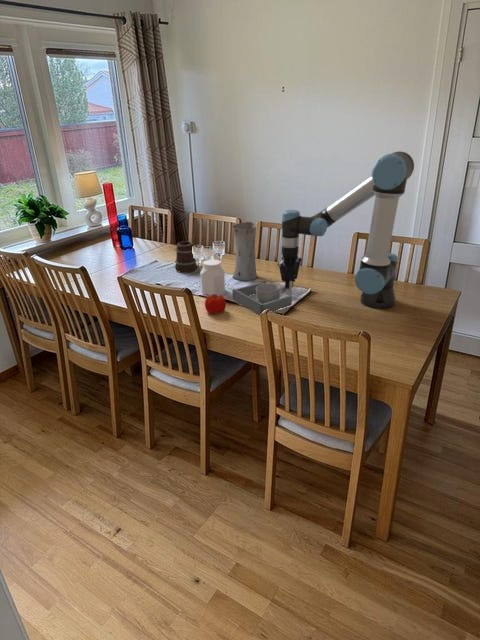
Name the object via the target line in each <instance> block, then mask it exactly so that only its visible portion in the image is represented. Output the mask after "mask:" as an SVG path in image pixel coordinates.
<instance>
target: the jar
mask: <svg viewBox="0 0 480 640" xmlns="http://www.w3.org/2000/svg"><path fill="white" fill-rule="evenodd" d="M202 264H203V268H202V269H201V271H200V272H199V273H200V274H199V275H200V283H201V284H200V285H201V286H200V287H201V294H202V295H208V296H211V295H212V294H216V295H219V296H220V295H222V296H223V295H224V294H225V293H226V285H225V282H226V279H225V270H224V269H223V267H222V263H221V261H220V260H218V259H206V260H205V261H203V262H202ZM223 293H224V294H223Z"/></svg>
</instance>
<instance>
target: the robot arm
mask: <svg viewBox="0 0 480 640" xmlns="http://www.w3.org/2000/svg"><path fill="white" fill-rule="evenodd" d="M414 169H415V162H414V158H413V157H412V156H411V154H409V153H407V152H405V151H394V152H392V153H388V154H385V155H383V156H382V157H380V158H379V159H378V160H377V161H376V162H375V164H374V165H373V167H372V171H371V175H369V176H368V177H367V178H365V179H364V180H363V181H362V182H360V183H359V184H357V185H356V186H354V187H353V188H352V189H350V190H349V191H348V192H346V193H345V194H343V195H342V196H340V197H339V198H337V200H335V201H333V202H332V203H331V204H329V205H328V206H327V207H325V208H324V209H322V210H321V211H319V212H318V213H316V214H314V215H312V216H310V217H309V216H302V215H301V214H300V213H301V212H300V211H299V210H296V209H287V210H284V211H283V212H282V216H281V219H282V220H281V255H282V258H281V261H279V262H277V266H278V267H279V272H280V273H279V274H280V278H281V281H282V282H284V284H285V285H284V286H285V294H286V295H288V296H290V295H291V296H292V295H293V288H294V282H296V280H297V279H298V276H299V270H300V265H301V262H302V260H303V259H302V258H301V257H299V256H298V255H299V248H300V247H299V241H300V235H305V236H306V235H307V236H313V237H324V235H325V234H326V232H327V229H328V228H329V227H331V226H332V225H333V224H335V223H336V222H337V221H339V220H341V219H342V218H343V217H345V216H346V215H348V214H350V213H351V212H352V211H354V210H355V209H357V208H359V207H360V206H361V205H363V204H364V203H366V202H367V201H369V200H370V199H372V198H373V197H375V199H374V204H373V209H372V216H371V220H370V221H371V223H370V227H369V234H368V238H367V239H368V241H367V245H366V251H365V255H362V256H361V258H360V264H359V268H358V271H357V272H356V274H355V277H354V283H355V286H356V287H357V289H358V290H359V291H360V292H362V293H361V294H360V303H361V305H364V306H365V307H368V308H372V309H379V310H382V309H391V308H394V306H395V305H396V295H395V289H394V285H395V279H396V273H397V265H398V255H397V254H395V253H392V252H389V251H390V247H391V242H392V237H393V230H394V225H395V221H396V216H397V211H398V205H399V200H400V197H401V196H404V194H405V191H406V185H407V181H408V180H409V179H410V178H411V176H412V174H413V173H414Z"/></svg>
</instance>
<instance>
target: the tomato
mask: <svg viewBox="0 0 480 640" xmlns="http://www.w3.org/2000/svg"><path fill="white" fill-rule="evenodd" d="M226 306H227V301H226V299H225V297H224V295H223V294H222V295H219V296H218V295H216V294H212V295H208V296H207V297H206V298H205V300H204V309H206V311H207V312H208V313H209V314H210V315H211V314H212V315H216V314H221V313H224V312H225V310H226Z"/></svg>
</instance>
